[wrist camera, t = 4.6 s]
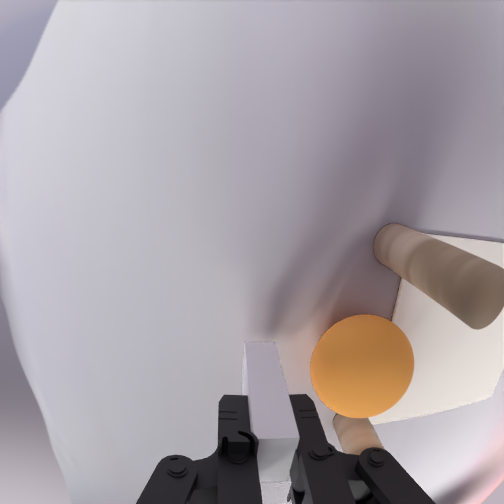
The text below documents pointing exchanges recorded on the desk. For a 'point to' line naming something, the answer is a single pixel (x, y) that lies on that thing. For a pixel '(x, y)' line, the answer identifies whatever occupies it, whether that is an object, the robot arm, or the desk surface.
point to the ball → (362, 366)
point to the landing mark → (447, 347)
